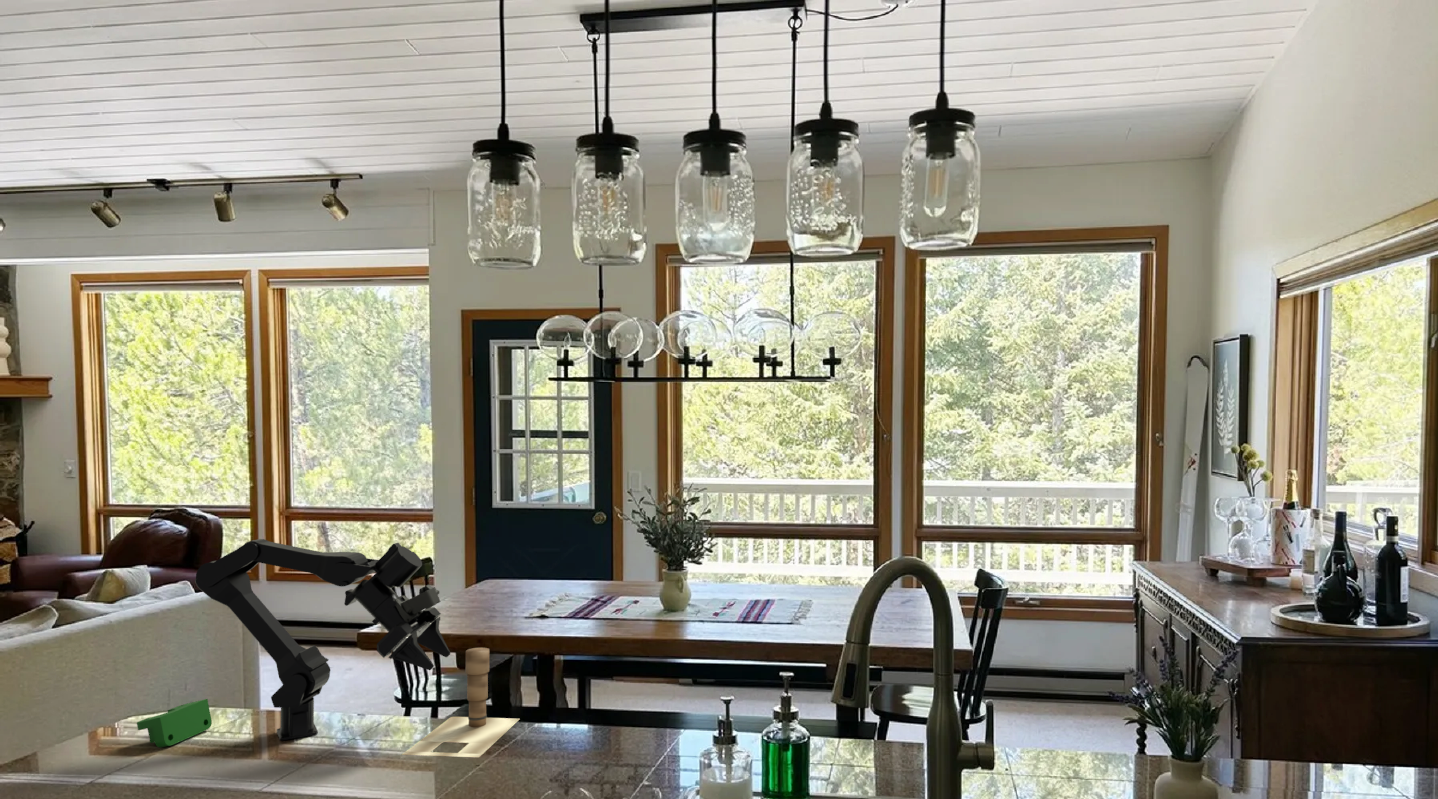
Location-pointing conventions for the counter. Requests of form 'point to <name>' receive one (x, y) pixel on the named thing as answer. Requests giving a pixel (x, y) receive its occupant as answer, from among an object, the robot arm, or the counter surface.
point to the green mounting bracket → (177, 723)
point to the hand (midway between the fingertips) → (440, 661)
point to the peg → (477, 685)
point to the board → (463, 737)
